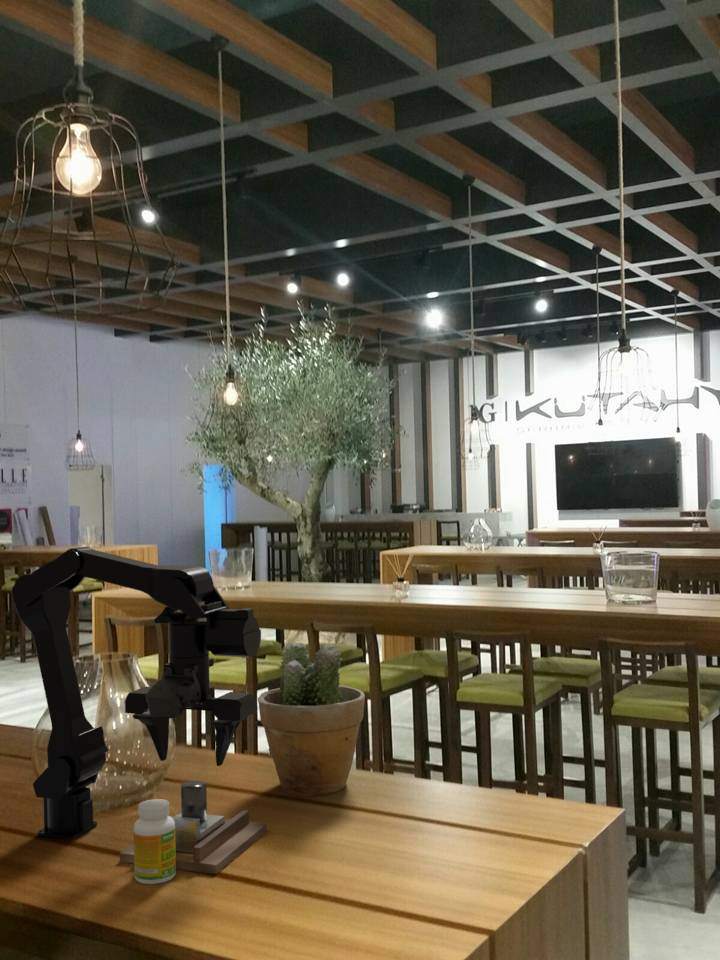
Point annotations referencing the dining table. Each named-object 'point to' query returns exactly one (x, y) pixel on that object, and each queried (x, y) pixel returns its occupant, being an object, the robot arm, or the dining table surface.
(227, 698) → the robot arm
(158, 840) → the supplement bottle
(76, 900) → the dining table surface
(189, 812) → the metal press slider
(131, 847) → the press bed
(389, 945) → the dining table surface
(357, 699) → the potted plant
